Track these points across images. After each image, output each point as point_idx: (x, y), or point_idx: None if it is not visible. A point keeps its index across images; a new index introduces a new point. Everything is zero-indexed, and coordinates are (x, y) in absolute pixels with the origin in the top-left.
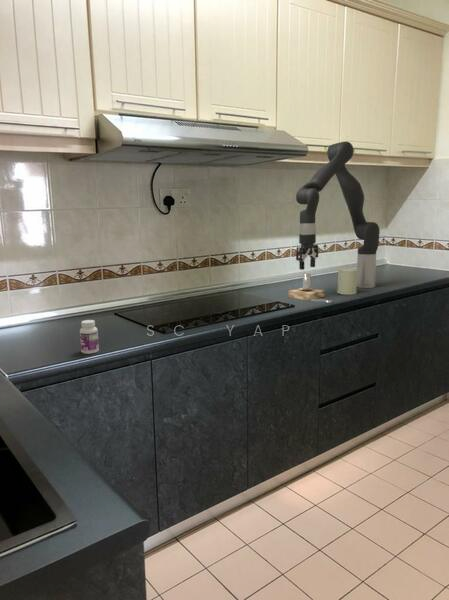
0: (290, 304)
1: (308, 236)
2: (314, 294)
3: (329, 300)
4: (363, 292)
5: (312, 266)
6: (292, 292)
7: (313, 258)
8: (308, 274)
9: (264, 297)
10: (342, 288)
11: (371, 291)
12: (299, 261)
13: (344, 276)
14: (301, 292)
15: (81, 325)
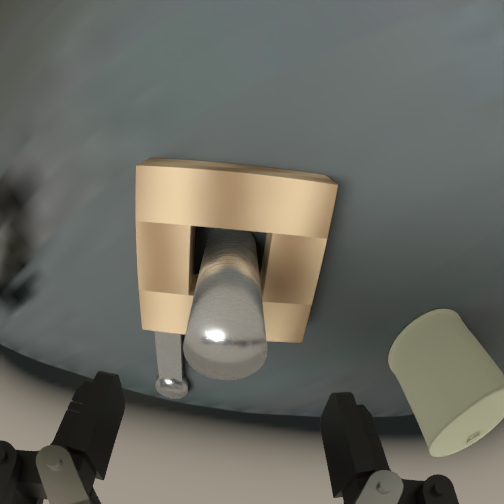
0: (29, 273)
1: None
2: None
3: (174, 390)
4: None
5: (325, 414)
6: (137, 202)
7: (345, 502)
8: (203, 372)
9: (65, 48)
10: (402, 366)
11: None
12: (49, 448)
13: (422, 418)
14: (148, 271)
15: None
